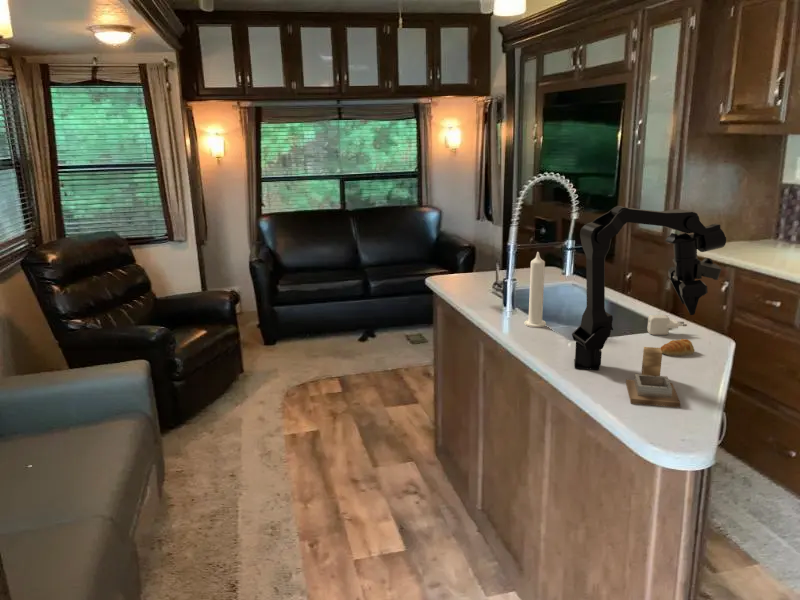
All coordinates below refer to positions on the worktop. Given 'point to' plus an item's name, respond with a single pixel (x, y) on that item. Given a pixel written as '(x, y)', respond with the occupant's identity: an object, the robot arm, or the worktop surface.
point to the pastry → (678, 348)
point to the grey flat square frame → (653, 386)
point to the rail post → (651, 361)
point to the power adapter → (661, 324)
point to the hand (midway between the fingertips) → (688, 309)
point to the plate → (648, 400)
